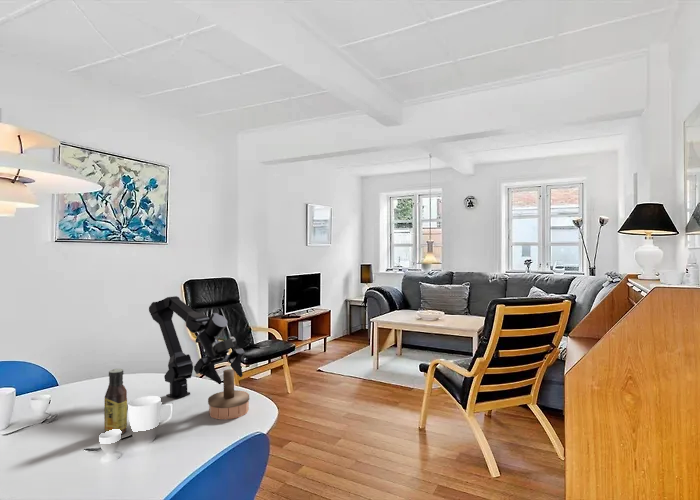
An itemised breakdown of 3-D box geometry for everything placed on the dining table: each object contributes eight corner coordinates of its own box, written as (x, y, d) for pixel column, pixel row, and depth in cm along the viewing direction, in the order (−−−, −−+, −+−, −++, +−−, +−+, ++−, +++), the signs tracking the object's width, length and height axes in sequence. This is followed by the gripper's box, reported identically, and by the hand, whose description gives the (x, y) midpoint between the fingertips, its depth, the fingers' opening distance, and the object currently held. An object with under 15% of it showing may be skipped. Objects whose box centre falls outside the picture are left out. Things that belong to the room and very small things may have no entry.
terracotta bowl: (201, 414, 148) (201, 403, 148) (229, 402, 159) (229, 391, 159) (228, 422, 142) (228, 410, 142) (255, 409, 153) (255, 398, 153)
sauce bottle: (101, 433, 134) (100, 370, 134) (122, 427, 138) (122, 366, 138) (108, 439, 129) (107, 374, 129) (130, 433, 134) (129, 369, 134)
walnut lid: (203, 409, 143) (203, 377, 143) (212, 394, 157) (212, 365, 157) (246, 407, 144) (246, 376, 144) (251, 392, 158) (251, 364, 158)
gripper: (198, 335, 145) (220, 373, 139) (241, 326, 160) (262, 360, 154) (184, 355, 149) (205, 392, 143) (227, 344, 165) (247, 378, 159)
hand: (231, 379), depth 150 cm, fingers open, 9 cm apart
